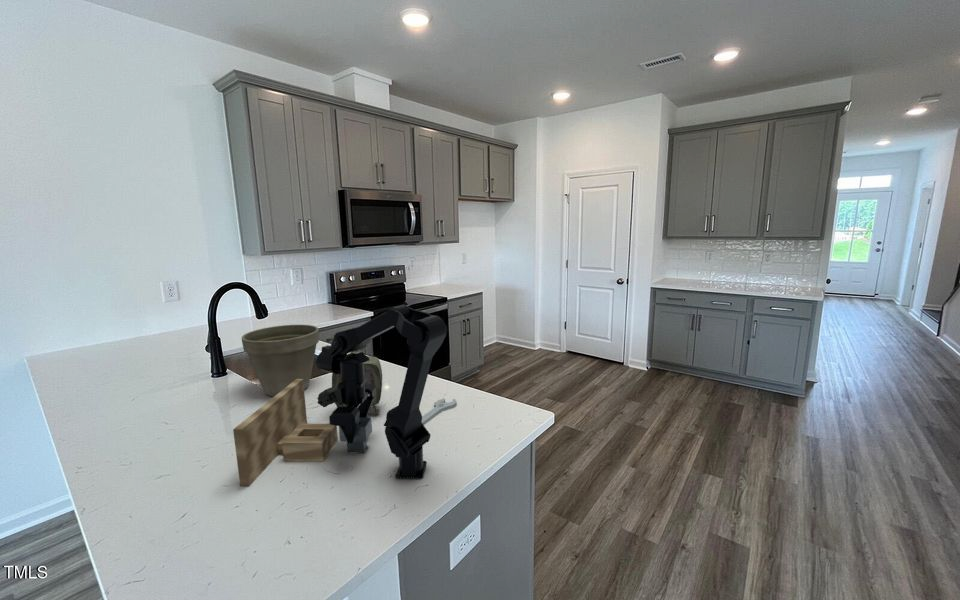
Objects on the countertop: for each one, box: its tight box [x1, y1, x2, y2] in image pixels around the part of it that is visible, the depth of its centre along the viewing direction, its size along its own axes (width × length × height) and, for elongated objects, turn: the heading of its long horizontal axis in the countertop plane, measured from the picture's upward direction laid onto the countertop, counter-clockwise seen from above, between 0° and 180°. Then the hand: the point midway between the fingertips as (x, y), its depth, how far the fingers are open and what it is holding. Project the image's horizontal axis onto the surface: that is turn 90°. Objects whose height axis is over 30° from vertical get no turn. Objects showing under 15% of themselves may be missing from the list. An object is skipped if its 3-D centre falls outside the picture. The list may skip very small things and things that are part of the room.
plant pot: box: [241, 324, 320, 397], centre depth 144 cm, size 25×25×22 cm
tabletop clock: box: [331, 344, 383, 416], centre depth 124 cm, size 14×9×25 cm, turn 101°
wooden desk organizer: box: [232, 379, 339, 487], centre depth 104 cm, size 30×15×14 cm, turn 179°
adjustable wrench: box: [422, 398, 457, 426], centre depth 123 cm, size 25×6×2 cm, turn 147°
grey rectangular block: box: [338, 417, 373, 454], centre depth 104 cm, size 5×7×8 cm
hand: (356, 433), depth 104 cm, fingers open, 9 cm apart
